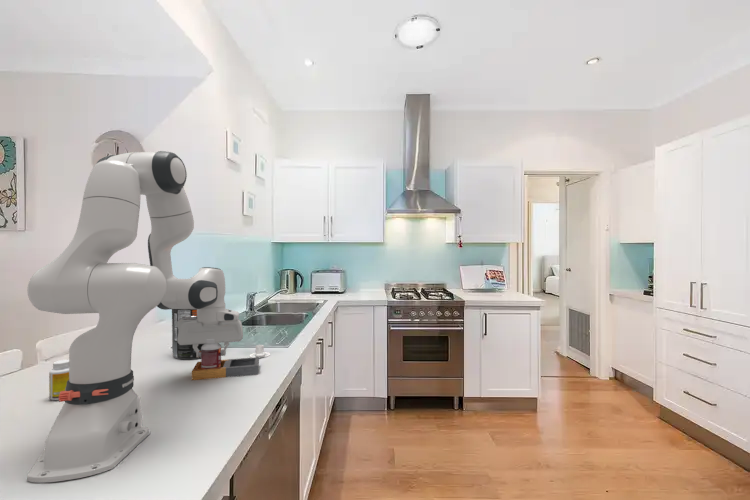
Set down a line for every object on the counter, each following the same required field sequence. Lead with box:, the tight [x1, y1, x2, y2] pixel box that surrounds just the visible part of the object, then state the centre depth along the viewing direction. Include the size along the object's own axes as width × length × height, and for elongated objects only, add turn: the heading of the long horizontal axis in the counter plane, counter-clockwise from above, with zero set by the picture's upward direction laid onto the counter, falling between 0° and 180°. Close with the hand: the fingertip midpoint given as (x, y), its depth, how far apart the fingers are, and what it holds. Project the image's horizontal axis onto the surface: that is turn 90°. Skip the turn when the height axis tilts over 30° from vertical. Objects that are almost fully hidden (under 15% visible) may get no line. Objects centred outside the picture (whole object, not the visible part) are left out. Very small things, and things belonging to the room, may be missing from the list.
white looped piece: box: [249, 344, 271, 359], centre depth 149 cm, size 9×8×4 cm
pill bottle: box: [200, 339, 222, 369], centre depth 127 cm, size 6×6×11 cm
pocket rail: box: [191, 356, 260, 381], centre depth 128 cm, size 10×20×3 cm, turn 106°
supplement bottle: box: [48, 359, 69, 401], centre depth 107 cm, size 6×6×10 cm
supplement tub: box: [171, 309, 204, 360], centre depth 150 cm, size 16×16×26 cm
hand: (211, 356), depth 127 cm, fingers closed on pill bottle, 6 cm apart
